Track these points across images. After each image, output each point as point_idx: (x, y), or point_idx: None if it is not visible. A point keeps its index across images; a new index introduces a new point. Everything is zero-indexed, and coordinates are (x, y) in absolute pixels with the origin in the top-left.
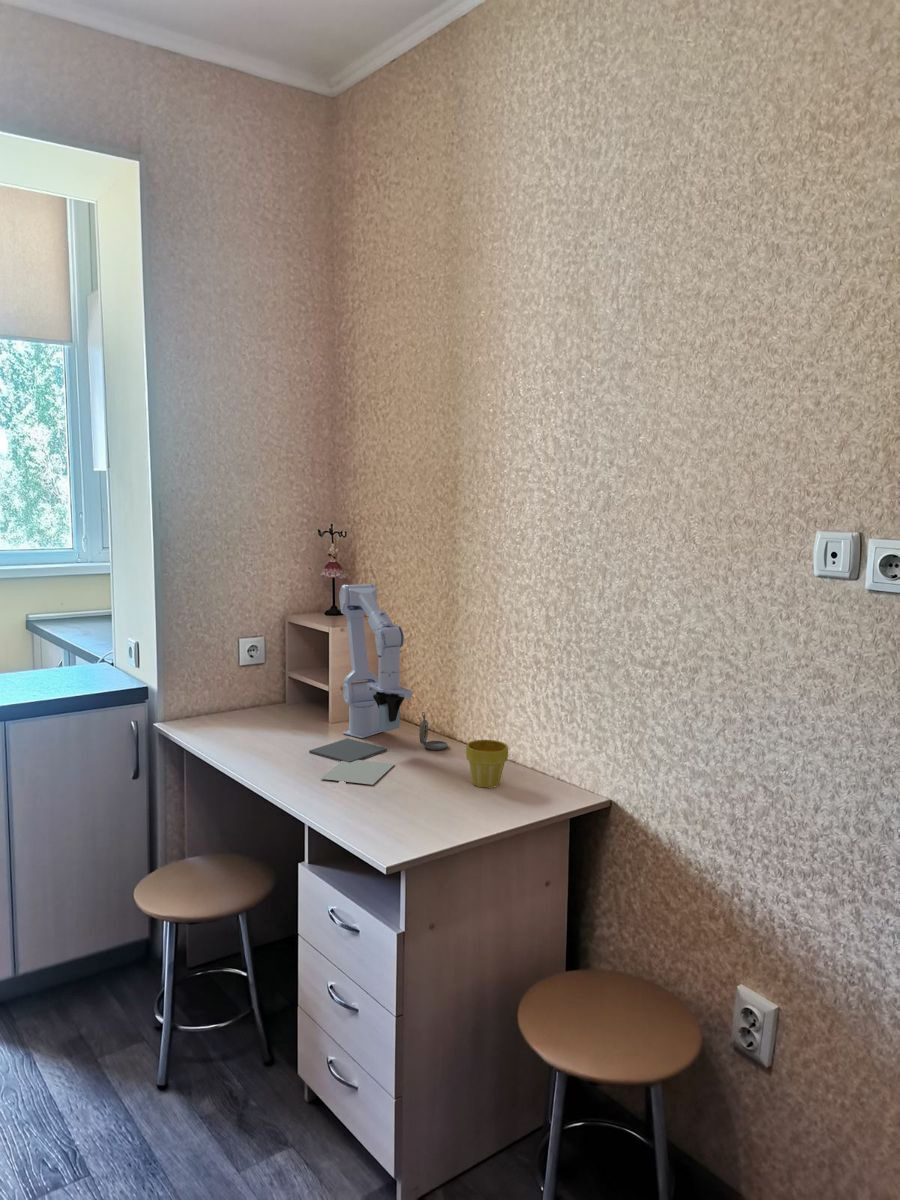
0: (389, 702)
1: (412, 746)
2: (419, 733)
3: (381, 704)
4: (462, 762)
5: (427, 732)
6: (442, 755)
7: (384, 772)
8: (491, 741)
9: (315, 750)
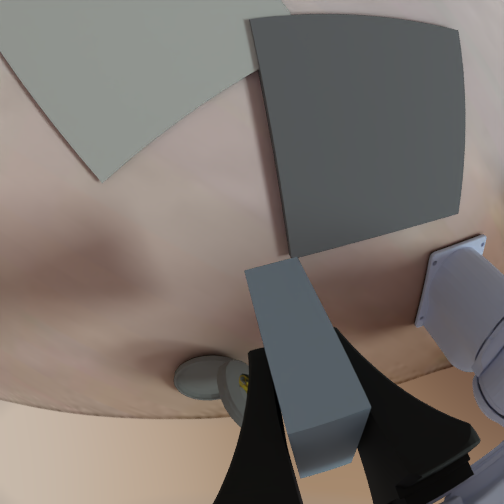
0: (256, 492)
1: None
2: (228, 384)
3: (371, 421)
4: (56, 356)
5: None
6: (131, 355)
7: (34, 90)
8: None
9: (448, 41)
